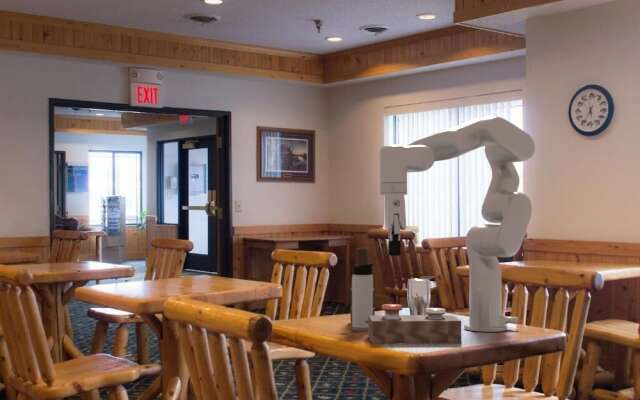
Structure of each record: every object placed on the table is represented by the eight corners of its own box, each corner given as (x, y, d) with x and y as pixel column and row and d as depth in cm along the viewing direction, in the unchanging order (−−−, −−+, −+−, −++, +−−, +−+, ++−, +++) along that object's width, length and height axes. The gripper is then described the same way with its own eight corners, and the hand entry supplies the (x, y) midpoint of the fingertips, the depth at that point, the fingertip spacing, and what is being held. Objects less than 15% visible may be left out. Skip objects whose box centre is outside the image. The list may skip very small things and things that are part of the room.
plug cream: (443, 337, 213) (443, 308, 213) (447, 340, 207) (447, 310, 207) (423, 337, 212) (423, 308, 213) (426, 340, 207) (426, 310, 207)
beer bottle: (373, 324, 238) (373, 248, 239) (348, 324, 240) (348, 248, 240) (375, 321, 246) (375, 247, 247) (351, 320, 247) (351, 247, 248)
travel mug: (372, 331, 224) (372, 264, 224) (350, 331, 225) (350, 263, 226) (375, 328, 230) (375, 262, 231) (353, 328, 232) (353, 262, 232)
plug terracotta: (400, 333, 212) (400, 304, 213) (403, 336, 207) (403, 306, 207) (380, 333, 212) (380, 304, 212) (382, 336, 207) (382, 306, 207)
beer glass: (434, 328, 230) (433, 279, 231) (425, 331, 224) (425, 280, 225) (412, 326, 234) (412, 278, 234) (403, 329, 228) (403, 279, 228)
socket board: (452, 336, 216) (452, 315, 216) (461, 343, 204) (461, 320, 204) (368, 336, 215) (368, 315, 215) (372, 343, 203) (372, 321, 203)
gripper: (411, 188, 204) (412, 257, 204) (403, 190, 219) (404, 253, 219) (383, 189, 204) (384, 257, 203) (377, 190, 219) (378, 254, 218)
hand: (394, 255), depth 211 cm, fingers closed
